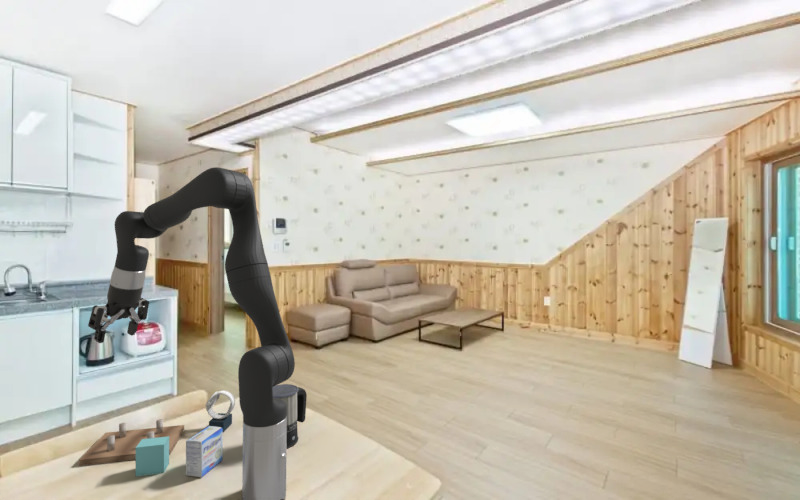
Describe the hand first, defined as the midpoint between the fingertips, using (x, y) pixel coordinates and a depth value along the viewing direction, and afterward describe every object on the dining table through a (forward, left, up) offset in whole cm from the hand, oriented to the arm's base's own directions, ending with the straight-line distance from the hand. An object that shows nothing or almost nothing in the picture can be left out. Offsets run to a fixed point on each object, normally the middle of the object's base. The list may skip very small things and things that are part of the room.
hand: (115, 338), depth 106 cm
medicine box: (-27, +19, -29) cm, 44 cm away
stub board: (-7, +4, -29) cm, 30 cm away
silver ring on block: (-27, -2, -29) cm, 39 cm away
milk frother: (-42, +7, -29) cm, 52 cm away
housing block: (-15, +17, -29) cm, 37 cm away
